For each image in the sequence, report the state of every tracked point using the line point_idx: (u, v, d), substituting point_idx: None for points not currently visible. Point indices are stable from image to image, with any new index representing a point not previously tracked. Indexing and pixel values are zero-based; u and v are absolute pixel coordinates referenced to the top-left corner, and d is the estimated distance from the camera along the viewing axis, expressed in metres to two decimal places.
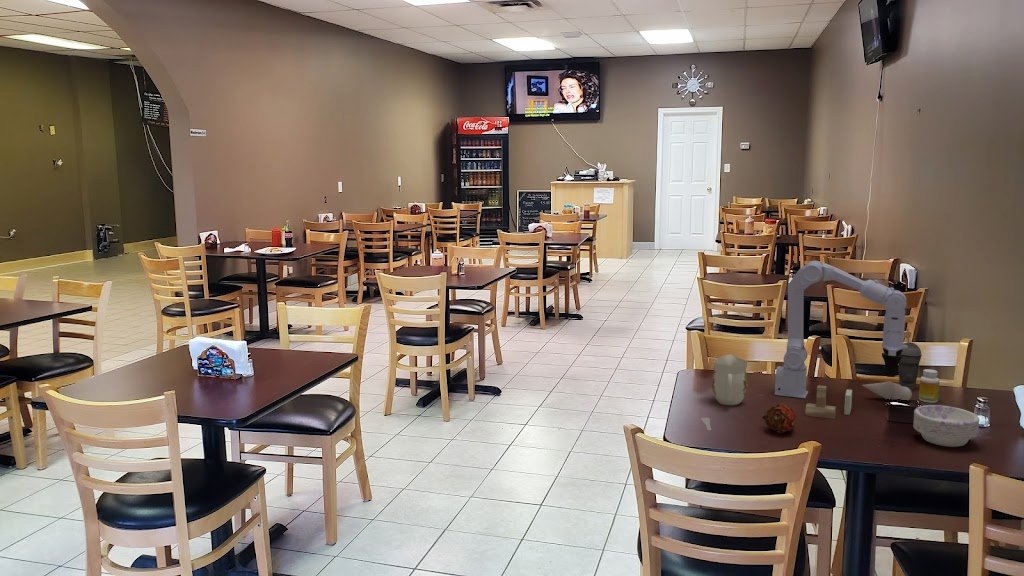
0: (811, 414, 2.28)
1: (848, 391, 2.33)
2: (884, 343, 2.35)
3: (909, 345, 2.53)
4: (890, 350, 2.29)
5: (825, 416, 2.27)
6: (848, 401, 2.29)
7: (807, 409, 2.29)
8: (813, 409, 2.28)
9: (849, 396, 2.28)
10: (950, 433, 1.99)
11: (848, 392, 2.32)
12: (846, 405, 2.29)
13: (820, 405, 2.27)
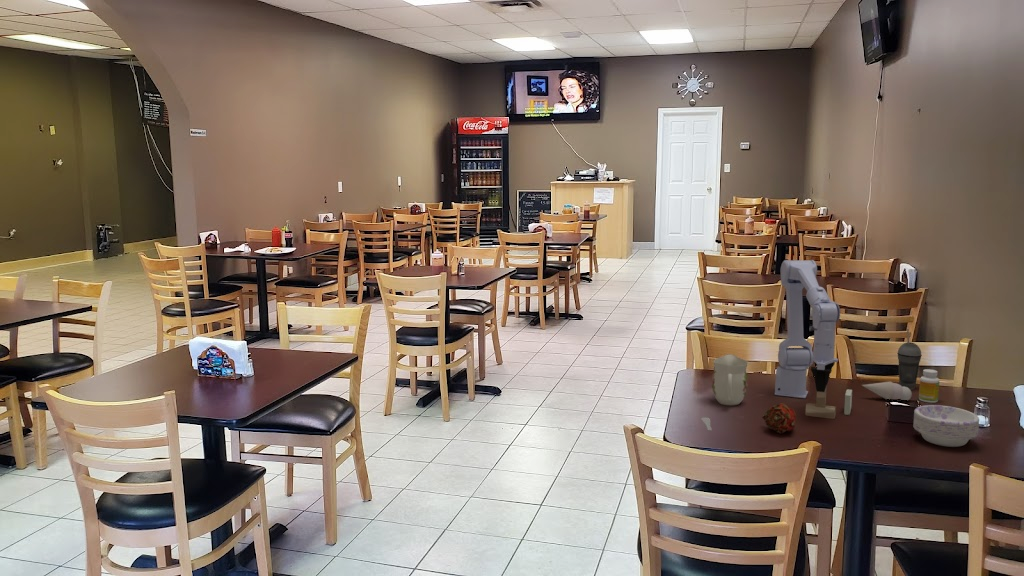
0: (811, 414, 2.28)
1: (848, 391, 2.33)
2: (814, 356, 2.26)
3: (909, 345, 2.53)
4: (818, 364, 2.20)
5: (825, 416, 2.27)
6: (848, 401, 2.29)
7: (807, 409, 2.29)
8: (813, 409, 2.28)
9: (849, 396, 2.28)
10: (950, 433, 1.99)
11: (848, 392, 2.32)
12: (846, 405, 2.29)
13: (820, 405, 2.27)
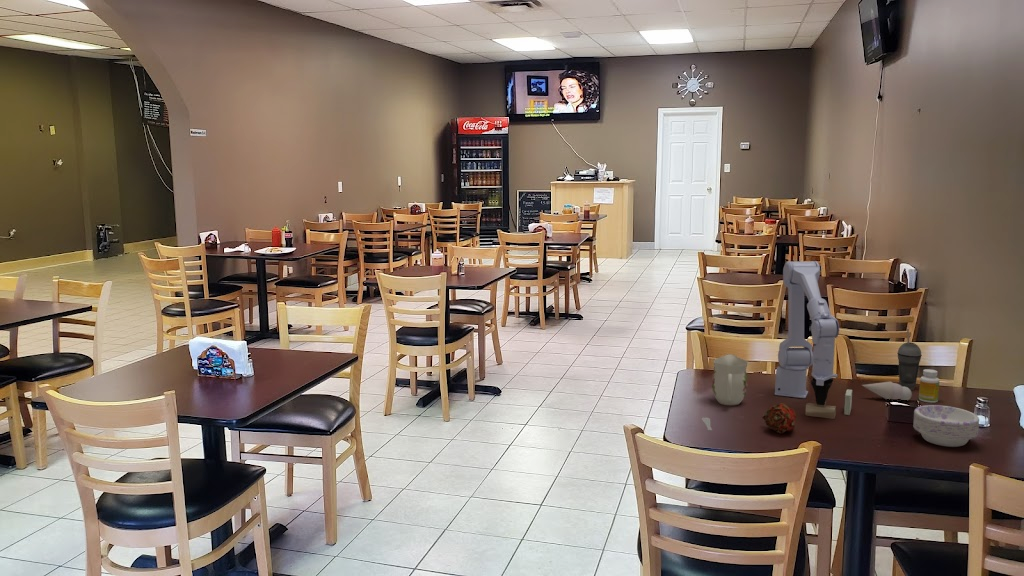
0: (812, 413, 2.28)
1: (848, 391, 2.33)
2: (813, 372, 2.26)
3: (909, 345, 2.53)
4: (818, 380, 2.21)
5: (825, 416, 2.27)
6: (848, 401, 2.29)
7: (807, 409, 2.29)
8: (813, 409, 2.28)
9: (849, 396, 2.28)
10: (950, 433, 1.99)
11: (848, 392, 2.32)
12: (846, 405, 2.29)
13: (820, 405, 2.27)
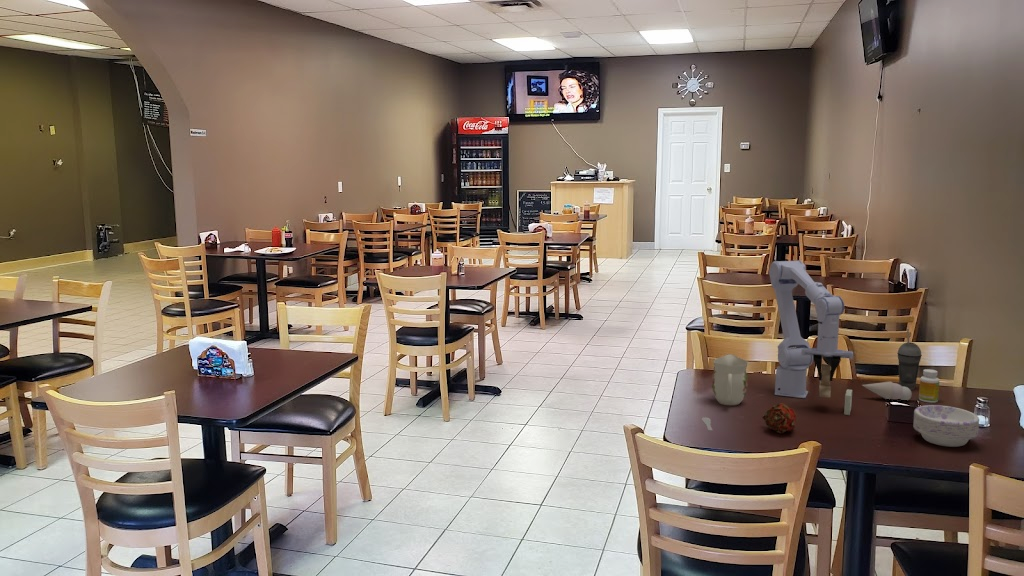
0: (819, 389, 2.36)
1: (848, 391, 2.33)
2: None
3: (909, 345, 2.53)
4: (801, 349, 2.35)
5: (819, 393, 2.33)
6: (848, 401, 2.29)
7: None
8: None
9: (849, 396, 2.28)
10: (950, 433, 1.99)
11: (848, 392, 2.32)
12: (846, 405, 2.29)
13: (821, 382, 2.34)
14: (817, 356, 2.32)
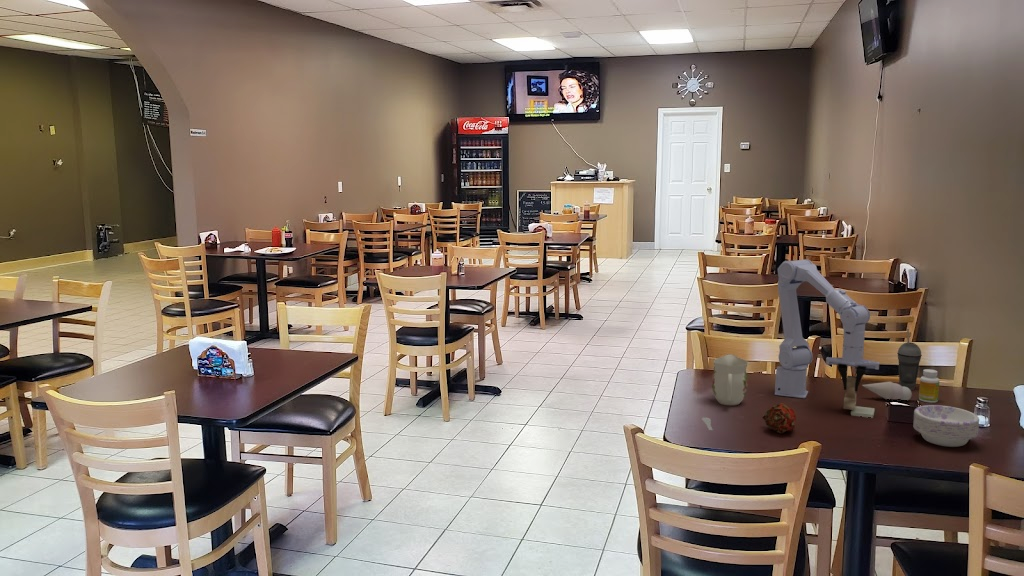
0: None
1: (873, 412, 2.30)
2: None
3: (909, 345, 2.53)
4: (826, 358, 2.34)
5: None
6: None
7: None
8: None
9: None
10: (949, 433, 1.99)
11: (873, 413, 2.29)
12: (861, 414, 2.27)
13: (846, 393, 2.32)
14: (842, 366, 2.31)
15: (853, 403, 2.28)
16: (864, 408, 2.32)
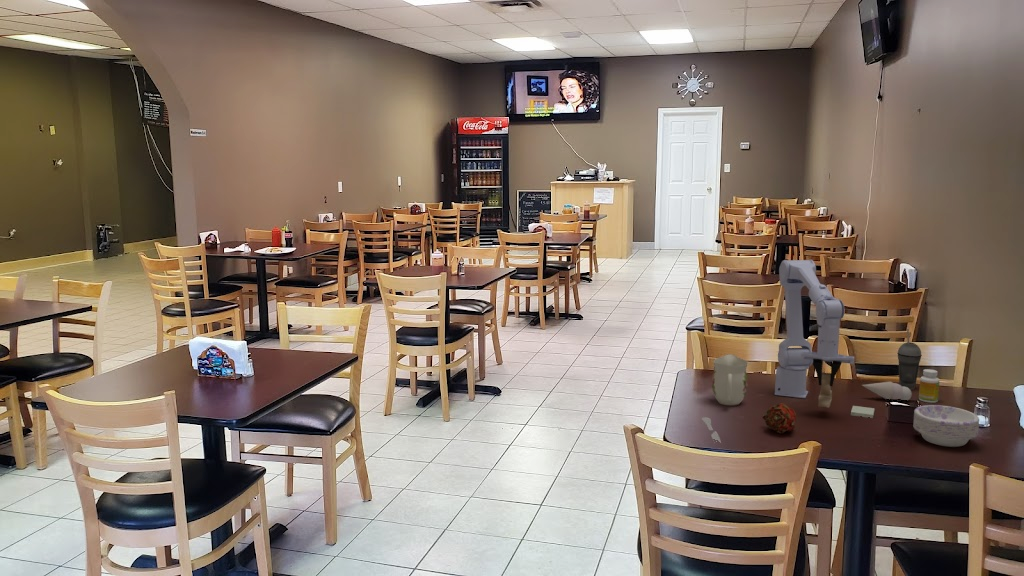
0: None
1: (873, 412, 2.30)
2: None
3: (909, 345, 2.53)
4: (801, 353, 2.30)
5: None
6: None
7: None
8: None
9: None
10: (950, 433, 1.99)
11: (873, 413, 2.29)
12: (861, 414, 2.27)
13: (821, 391, 2.29)
14: (817, 360, 2.27)
15: (828, 401, 2.24)
16: (864, 408, 2.32)
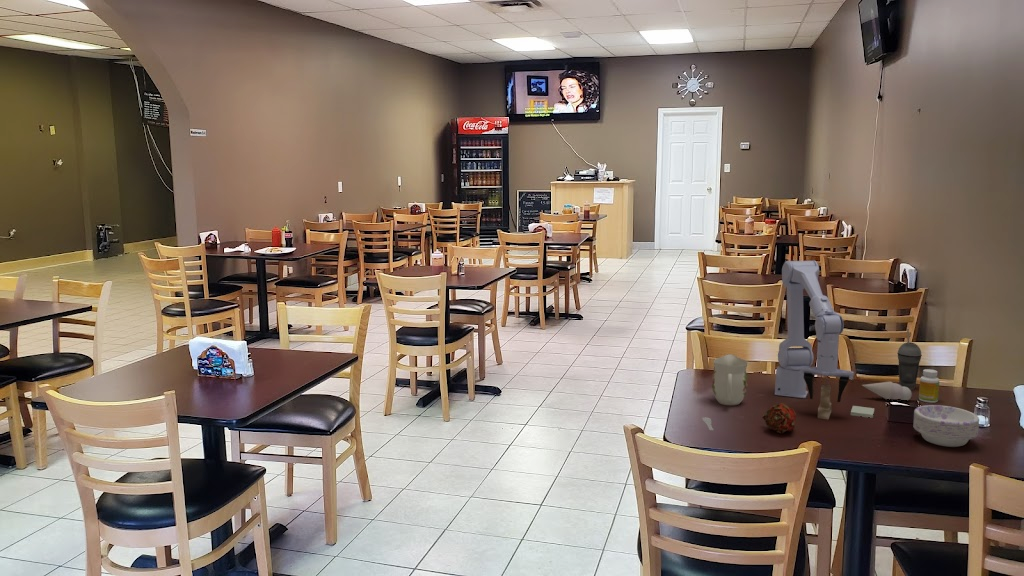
0: None
1: (873, 412, 2.30)
2: None
3: (909, 345, 2.53)
4: (800, 367, 2.31)
5: None
6: None
7: None
8: None
9: None
10: (949, 433, 1.99)
11: (873, 413, 2.29)
12: (861, 414, 2.28)
13: None
14: None
15: (827, 413, 2.25)
16: (864, 408, 2.32)
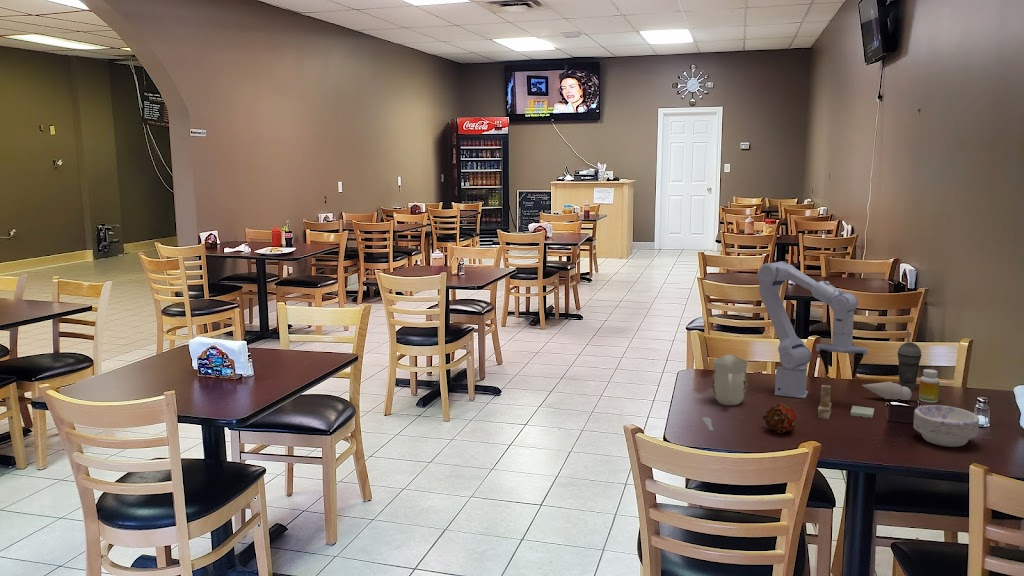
0: None
1: (873, 412, 2.30)
2: None
3: (909, 345, 2.53)
4: (816, 345, 2.40)
5: None
6: None
7: None
8: None
9: None
10: (950, 433, 1.99)
11: (873, 413, 2.29)
12: (860, 414, 2.28)
13: None
14: None
15: (827, 413, 2.25)
16: (864, 408, 2.32)
